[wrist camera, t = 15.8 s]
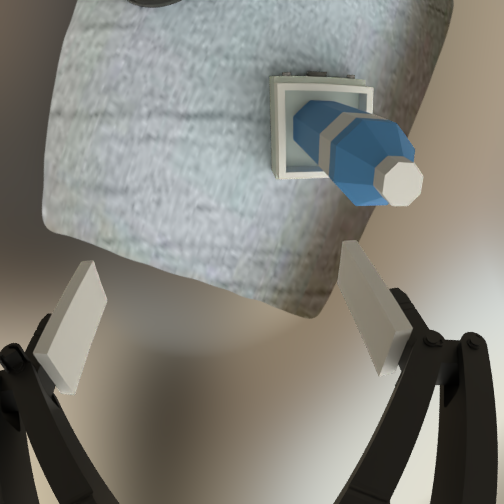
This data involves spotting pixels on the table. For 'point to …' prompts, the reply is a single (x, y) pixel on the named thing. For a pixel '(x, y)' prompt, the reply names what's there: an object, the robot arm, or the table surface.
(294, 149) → the open storage box
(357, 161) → the water bottle
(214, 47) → the table surface
